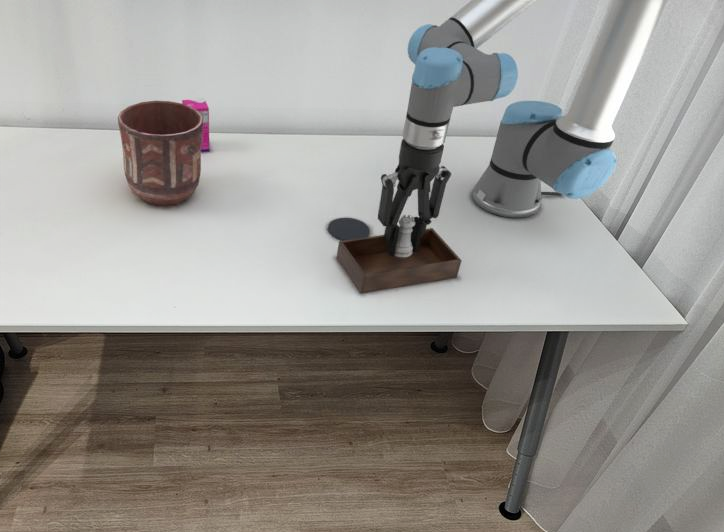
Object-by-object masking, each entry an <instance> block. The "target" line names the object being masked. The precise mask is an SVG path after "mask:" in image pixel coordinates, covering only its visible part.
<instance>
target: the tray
mask: <svg viewBox="0 0 724 532" xmlns="http://www.w3.org/2000/svg"><path fill="white" fill-rule="evenodd" d="M386 241H387V239H386V238H385V236H384V234H379V235H373V236H368V237H365V238H358V239H351V240H344V241H342V240H339V241H338V246H337V252H336V257H335V258H336V260H337V262H338V264H339V265H340V266H341V267H342V269H343V271H344V272H345V273H346V275H347V277H348V278H349V280H350V281H351V282H352V284H353V285H354V286H355V288H356V289H357V291H358V293H359V294H361V295H362V294H367V293H373V292H374V293H375V292H379V291H386V290H392V289H398V288H404V287H405V288H406V287H410V286H416V285H422V284H427V283H428V284H429V283H433V282H434V283H435V282H440V281H447V280H452V279H457V278H458V276H459V272H460V268H461V264H462V259H461V258H460V257H459V256H458V254H456V253H455V251H454V250H453V249H452V248H451V246H449V245H448V244H447V243H446V242H445V240H444V239H443V238H442V236H440V234H438V232H437V231H436V230H435V229H434V228H433V227H429V228H428V227H427V228H426V231H425V234H424V235H421V240H420V244H419V249H418V252H414V251H413V250H412V255H410V256H409V257H407V258H398V257H396V256H390V254H389V253H388V252H387V251H386V249H385V246H386Z"/></svg>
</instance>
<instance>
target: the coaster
mask: <svg viewBox="0 0 724 532" xmlns="http://www.w3.org/2000/svg"><path fill="white" fill-rule="evenodd" d="M327 231H328V233H329V234H330V236H332V237H333V238H335V239H337V240H339V241H344V240H351V239H358V238H365V237H369V236H370V231H371V230H370V227H369V226H368V224H366V223H365V222H363V221H362V220H360V219H357V218H352V217H338V218H335V219H333V220H331V221H330V222H329V223H328V225H327Z"/></svg>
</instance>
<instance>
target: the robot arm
mask: <svg viewBox="0 0 724 532" xmlns="http://www.w3.org/2000/svg"><path fill="white" fill-rule="evenodd" d="M537 1H538V0H470V1H468V3H466V4H464V5H463V7H461V8H460V9H459V10H458V11H456V12H455V13H454V14H452V15H451V16H450V17H449V18H448V19H447V20H445V21H444V22H443V23H441V24H440V25H439V26H438V25H436V24H435V25H434V24H429V23H428V24H424V25H421V26H419V27H418V28H417V29H415V31H414V32H413V33H412V35H411V37H410V38H409V41H408V44H407V55H408V58H409V60H410V62H412V64H414V65H415V66H414V69H413V73H412V77H411V85H410V91H409V97H408V104H407V109H406V114H405V120H404V125H403V131H402V139H401V143H400V148H399V155H398V164H397V166H396V168H395V170H394V172H392V173H390V174H386V173H383V174H381V176H380V181H381V185H382V187H381V192H380V200H379V204H378V205H379V206H378V212H377V220H378V221H379V222H380V223H381V225H382V226H383V227H384V233H383V235H384V236H385V238H386V239H387V241H386V246H385V249H386V251H387V252H388V253H389V254H390V256H394V255H395V250H396V244H397V239H398V234H399V229H400V227H399V226H400V225H398V224H399V222H398V221H399V220H400V219H401V217H402V216H401V215H402V214H403V211H404V209H405V206H406V204H407V201H408V200H409V197H411V196H412V193H413V191H415V190H417V216H413V217H414V221H415V225H414V226H413V227H412V229H413V231H412V232H411V243H412V246H413V251H414V252H418V249H419V244H420V240H421V235H424V234H425V231H426V229H427V227H428V226H429V225H430V224H431V223H432V220H431V219H437V218H438V217H439V215H440V211H441V208H442V203H443V200H444V199H443V198H444V194H445V190H446V187H447V183H448V181H449V179H450V178H451V176H452V172H451V171H450V170H449V169H448V168H447V167H446V166H444V165H442V166H440V164H441V162H442V157H443V154H444V149H445V145H444V144H445V142H446V138H447V134H448V129H449V125H450V121H451V119H452V113H453V110H454V108H456V107H461V106H467V105H472V104H478V103H485V102H486V103H487V102H493V101H495V100H497V99H501V98H506V97H507V96H509V95H511V93H512V92H513V91H514V89H515V87H516V85H517V81H518V78H519V71H518V66H517V65H518V64H517V62H516V60H515V59H514V58H513V56H511V55H510V54H508V53H505V52H492V53H490V54H488V53H485V52H483V51H481V50H479V48H480V47H481V46H482V45H483V44H485V43H486V42H488V40H490V39H491V38H492V37H493V36H495V35H496V34H497V33H498V32H500V31H501V30H502V29H503V28H504V27H506V26H507V25H508V24H509V23H511V22H512V21H513V20H515V19H516V18H517V17H519V16H520V15H521V14H522V13H524V12H525V11H526V10H527V9H529V8H530V7H531V6H532V5H533V4H535V3H536V2H537ZM668 1H669V0H613V1H612V3H611V5H610V8H609V9H608V13H607V16H606V18H605V20H604V23H603V25H602V28H601V30H600V33H599V35H598V38H597V40H596V42H595V45H594V47H593V50H592V53H591V54H590V57H589V60H588V62H587V64H586V67H585V70H584V72H583V75H582V77H581V80H580V82H579V84H578V87H577V89H576V91H575V94H574V96H573V99H572V102H571V104H570V107H569V109H568V111H567V113H566V114H565V115H563V109H562V108H561V107H560V106H558V105H556V104H554V103H550V102H546V101H542V100H541V101H539V100H521V101H516V102H515V101H514V102H512V103H510V104H509V105H508V106H507V107H505V110H504V112H503V116H502V119H501V120H500V123H499V127H498V130H497V134H496V138H495V143H494V145H493V150H492V154H491V157H490V161H489V164H488V165H487V167H486V169H485V171H484V172H483V173H482V175H481V176H480V178H479V179H478V181H477V182H476V183H475V185H474V188H473V191H472V200H473V202H474V203H475V204H476V205H477V206H478V207H480V209H483V210H484V211H486V212H488V213H490V214H493V215H496V216H500V217H505V218H510V219H511V218H513V219H521V218H527V217H531V216H533V215H535V214H536V213H537V212H538V211H539V209H540V206H541V203H542V196H564V197H566V198H568V199H571V200H578V199H579V200H580V199H584V198H586V197H588V196H590V195H592V194H593V193H595V192H596V191H597V190H599V189H600V188H601V187H603V185H604V184H606V183H607V181H608V180H609V179H610V178H611V176H612V175H613V173H614V171H615V169H616V166H617V162H618V161H617V156H616V154H615V152H614V151H613V150H611V147H612V145H613V143H614V141H615V138H616V134H615V132H614V129H613V127H612V125H613V123H614V121H615V119H616V116H617V114H618V112H619V110H620V108H621V106H622V104H623V101H624V100H625V99H624V98H625V96H626V94H627V92H628V90H629V88H630V85H631V83H632V82H633V79H634V77H635V74H636V72H637V70H638V68H639V65H640V63H641V61H642V58H643V56H644V55H645V52H646V50H647V48H648V46H649V43H650V41H651V38H652V36H653V34H654V33H655V30H656V27H657V26H658V23H659V21H660V18H661V16H662V14H663V12H664V10H665V7H666V5H667V3H668ZM397 181H398V182H397ZM432 181H433V183H432V187H431V182H432ZM396 182H397V184H396ZM542 183H544V184H545V185H547V186H548V187H550V188H551V189H553V191H542ZM395 187H396V192H395ZM394 193H395V195H394Z"/></svg>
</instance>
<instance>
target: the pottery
mask: <svg viewBox="0 0 724 532" xmlns="http://www.w3.org/2000/svg"><path fill="white" fill-rule="evenodd" d="M117 125H118V128H119V136H120V140H121V148H122V155H123V156H122V161H123V170H124V171H123V172H124V176H125V179H126V182H127V186H128V187H129V188H130V190H131V191H132V193H133V194H134V195H136V196H137V197H138V198H140V199H141V200H142V201H144V202H145V203H147V204H149V205H152V206H159V207H162V206H163V207H169V206H176V205H180V204H182V203H183V202H185V201H186V200H188V199H189V198H190V197H191V196H192V195H193V194H194V193H195V192H196V190H197V188H198V186H199V183H200V178H201V172H202V159H201V158H202V154H201V153H202V152H201V137H202V129H203V117H202V116H201V114H200V112H198V111H197V110H195V109H194V108H192V107H190V106H187V105H184V104H182V102H181V103H180V102H177V101H176V102H175V101H170V100H149V101H141V102H138V103H135V104H131V105H129V106H127V107H125V108H124V109H122V110H121V111H120V112H119V114H118V116H117Z"/></svg>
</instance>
